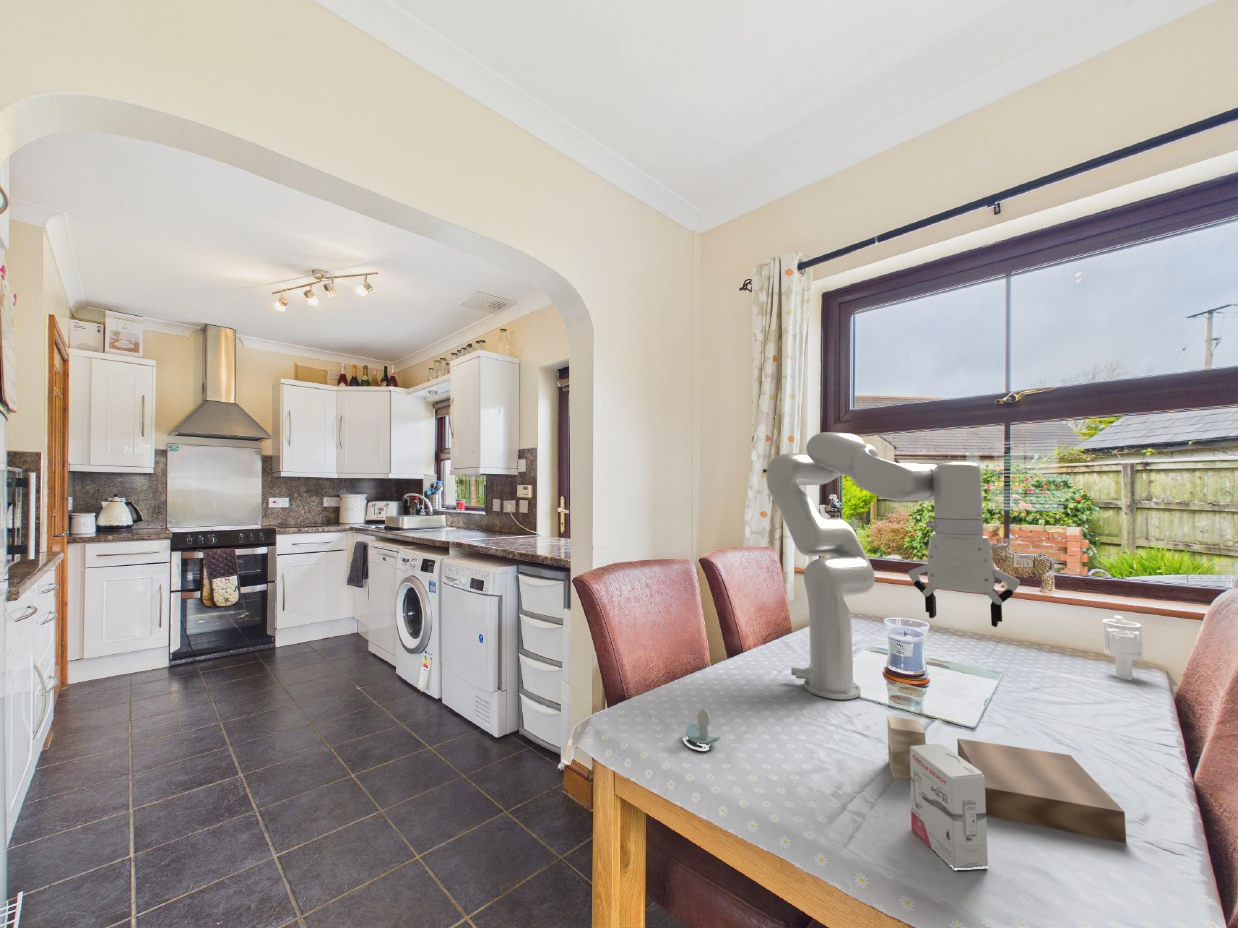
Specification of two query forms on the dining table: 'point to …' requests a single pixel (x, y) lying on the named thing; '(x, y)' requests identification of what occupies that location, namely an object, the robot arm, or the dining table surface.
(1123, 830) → the walnut base
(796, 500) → the robot arm
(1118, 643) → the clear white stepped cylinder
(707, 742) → the pacifier
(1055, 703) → the dining table surface
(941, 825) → the ink box
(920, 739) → the birch block
